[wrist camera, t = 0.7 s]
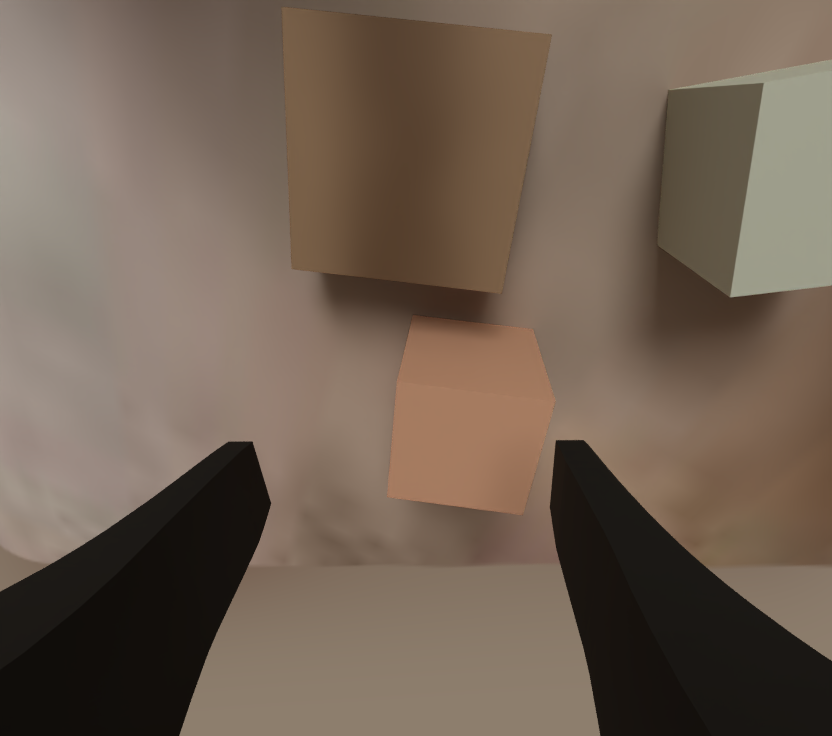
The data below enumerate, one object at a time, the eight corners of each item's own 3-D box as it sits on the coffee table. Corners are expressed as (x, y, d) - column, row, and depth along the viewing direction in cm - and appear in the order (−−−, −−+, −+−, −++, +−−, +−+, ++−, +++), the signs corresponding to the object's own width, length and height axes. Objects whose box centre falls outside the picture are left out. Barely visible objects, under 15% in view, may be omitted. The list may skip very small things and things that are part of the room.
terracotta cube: (532, 328, 19) (555, 401, 15) (509, 425, 22) (522, 515, 17) (413, 314, 20) (396, 381, 15) (403, 412, 22) (387, 497, 17)
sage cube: (843, 57, 14) (1036, 33, 9) (806, 224, 17) (945, 272, 12) (667, 90, 15) (764, 82, 10) (656, 244, 17) (730, 297, 13)
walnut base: (533, 49, 15) (551, 34, 12) (495, 262, 18) (501, 293, 15) (317, 26, 15) (281, 6, 12) (319, 242, 19) (291, 269, 16)
